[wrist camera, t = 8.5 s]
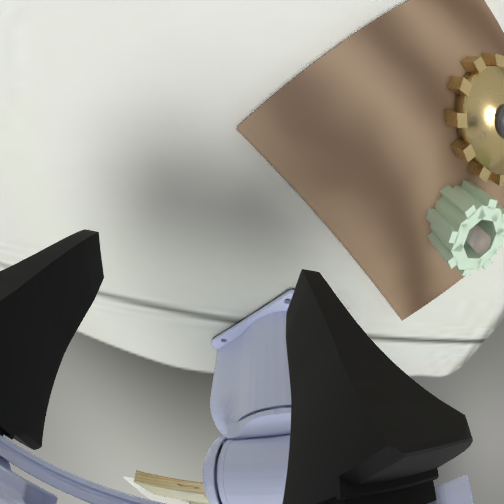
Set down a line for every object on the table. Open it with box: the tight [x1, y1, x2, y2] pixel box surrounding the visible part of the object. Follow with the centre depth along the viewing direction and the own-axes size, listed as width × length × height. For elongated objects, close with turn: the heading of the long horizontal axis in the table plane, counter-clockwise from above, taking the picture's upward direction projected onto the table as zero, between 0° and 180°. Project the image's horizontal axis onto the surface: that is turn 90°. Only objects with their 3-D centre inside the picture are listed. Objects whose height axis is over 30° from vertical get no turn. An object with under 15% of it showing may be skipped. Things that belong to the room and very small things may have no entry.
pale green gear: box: [426, 180, 504, 276], centre depth 16 cm, size 6×6×3 cm
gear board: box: [236, 0, 504, 320], centre depth 14 cm, size 20×20×5 cm
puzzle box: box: [134, 471, 210, 504], centre depth 68 cm, size 36×5×24 cm
